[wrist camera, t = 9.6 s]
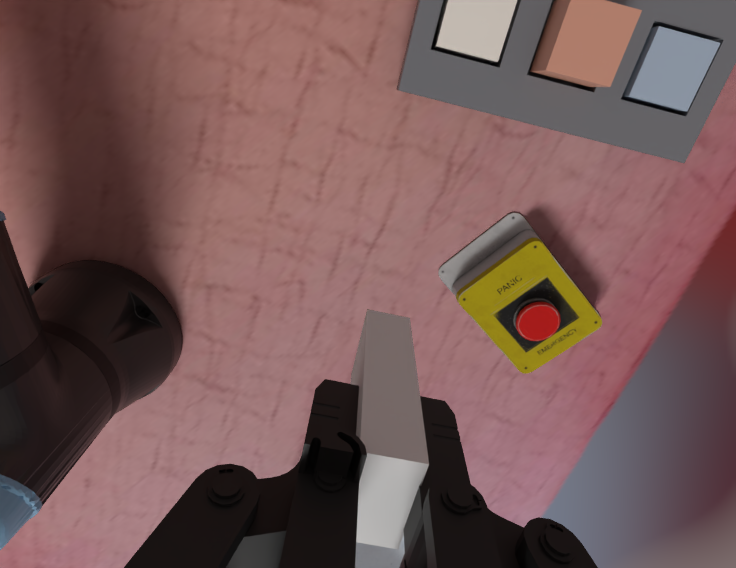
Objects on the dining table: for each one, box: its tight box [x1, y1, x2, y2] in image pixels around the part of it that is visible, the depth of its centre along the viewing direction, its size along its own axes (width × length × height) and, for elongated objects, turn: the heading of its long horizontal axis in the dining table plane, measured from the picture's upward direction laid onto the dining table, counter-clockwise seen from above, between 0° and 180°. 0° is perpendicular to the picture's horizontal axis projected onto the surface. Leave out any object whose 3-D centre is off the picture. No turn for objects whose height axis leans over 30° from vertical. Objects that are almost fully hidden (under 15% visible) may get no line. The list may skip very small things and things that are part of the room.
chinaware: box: [355, 535, 405, 568], centre depth 52 cm, size 15×15×8 cm
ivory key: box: [432, 0, 517, 64], centre depth 32 cm, size 4×4×4 cm
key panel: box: [397, 0, 736, 163], centre depth 33 cm, size 22×11×4 cm, turn 77°
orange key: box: [530, 0, 642, 87], centre depth 30 cm, size 4×4×4 cm
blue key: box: [621, 26, 720, 111], centre depth 33 cm, size 4×4×4 cm
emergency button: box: [439, 213, 602, 373], centre depth 42 cm, size 9×4×15 cm
